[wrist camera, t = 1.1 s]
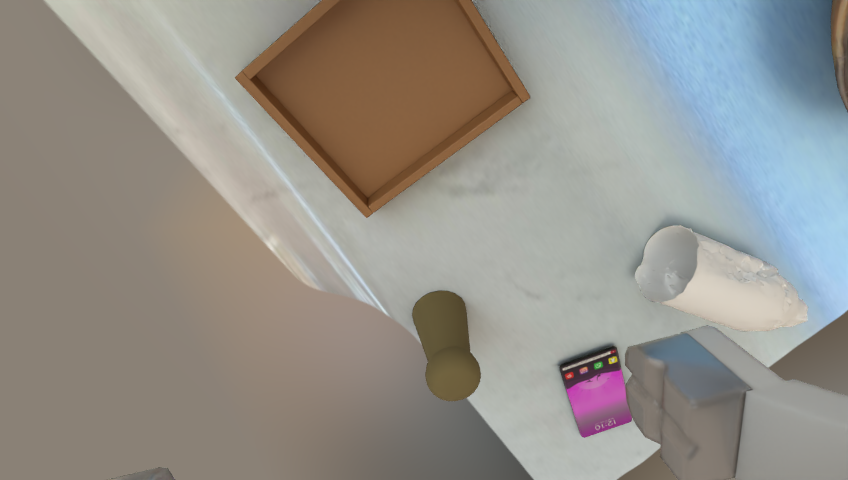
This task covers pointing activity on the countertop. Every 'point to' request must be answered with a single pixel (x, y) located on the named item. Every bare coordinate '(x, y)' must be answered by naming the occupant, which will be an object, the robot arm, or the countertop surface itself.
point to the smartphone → (596, 391)
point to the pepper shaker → (446, 345)
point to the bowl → (840, 46)
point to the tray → (384, 89)
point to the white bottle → (716, 282)
